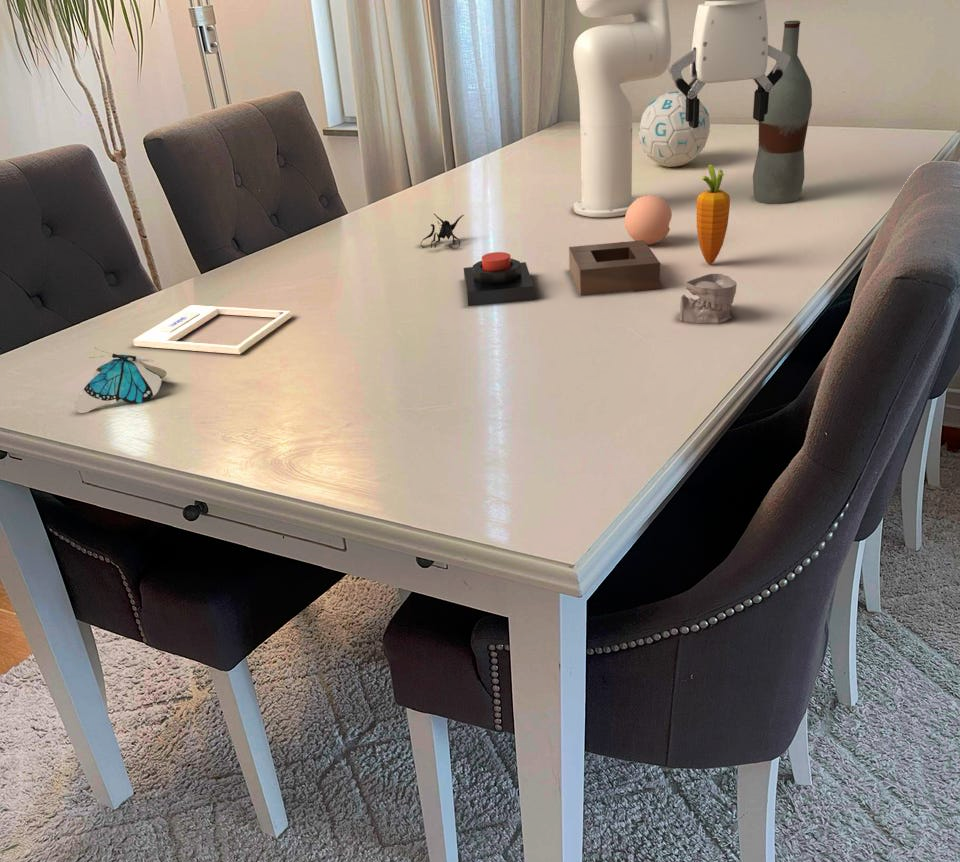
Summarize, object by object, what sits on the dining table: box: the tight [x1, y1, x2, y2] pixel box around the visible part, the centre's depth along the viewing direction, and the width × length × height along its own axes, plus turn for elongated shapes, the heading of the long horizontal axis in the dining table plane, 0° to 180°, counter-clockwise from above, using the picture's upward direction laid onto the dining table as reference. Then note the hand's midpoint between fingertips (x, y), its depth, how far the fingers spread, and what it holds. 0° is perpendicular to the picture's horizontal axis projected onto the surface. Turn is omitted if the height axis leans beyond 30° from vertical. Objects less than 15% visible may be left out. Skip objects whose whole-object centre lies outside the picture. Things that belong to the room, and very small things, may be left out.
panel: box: [463, 258, 535, 307], centre depth 147 cm, size 12×10×4 cm
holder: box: [568, 240, 661, 297], centre depth 147 cm, size 12×12×4 cm
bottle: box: [752, 19, 813, 205], centre depth 173 cm, size 9×9×30 cm
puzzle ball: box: [638, 90, 711, 168], centre depth 205 cm, size 15×15×15 cm
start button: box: [481, 251, 512, 271], centre depth 146 cm, size 4×4×2 cm
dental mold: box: [679, 273, 738, 325], centre depth 131 cm, size 8×7×5 cm
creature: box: [420, 213, 465, 250], centre depth 170 cm, size 8×5×8 cm
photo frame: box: [132, 304, 292, 355], centre depth 141 cm, size 15×1×18 cm
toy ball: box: [624, 194, 673, 245], centre depth 161 cm, size 8×8×8 cm
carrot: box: [696, 164, 731, 266], centre depth 147 cm, size 5×5×15 cm
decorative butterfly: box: [74, 347, 168, 414], centre depth 124 cm, size 10×6×10 cm
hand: (725, 123), depth 140 cm, fingers open, 9 cm apart
